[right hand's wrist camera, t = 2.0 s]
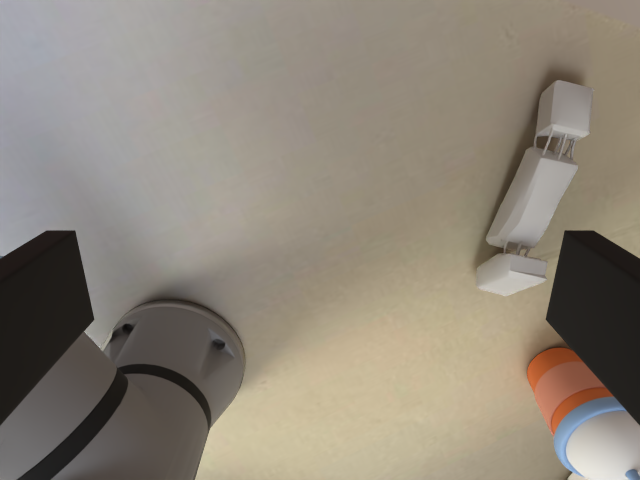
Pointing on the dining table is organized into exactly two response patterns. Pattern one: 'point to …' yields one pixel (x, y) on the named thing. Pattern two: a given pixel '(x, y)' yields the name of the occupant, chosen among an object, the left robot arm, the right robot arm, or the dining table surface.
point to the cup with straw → (584, 418)
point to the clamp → (536, 191)
